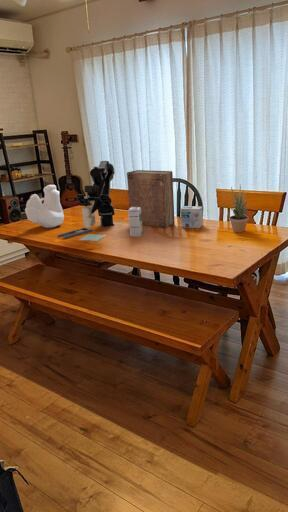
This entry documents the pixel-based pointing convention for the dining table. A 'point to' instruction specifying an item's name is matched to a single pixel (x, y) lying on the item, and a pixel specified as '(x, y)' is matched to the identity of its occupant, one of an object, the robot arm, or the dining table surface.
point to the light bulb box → (191, 216)
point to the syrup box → (135, 221)
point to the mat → (92, 237)
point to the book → (152, 196)
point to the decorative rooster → (45, 208)
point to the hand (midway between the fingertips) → (89, 213)
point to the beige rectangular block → (88, 216)
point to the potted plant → (239, 213)
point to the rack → (75, 233)
